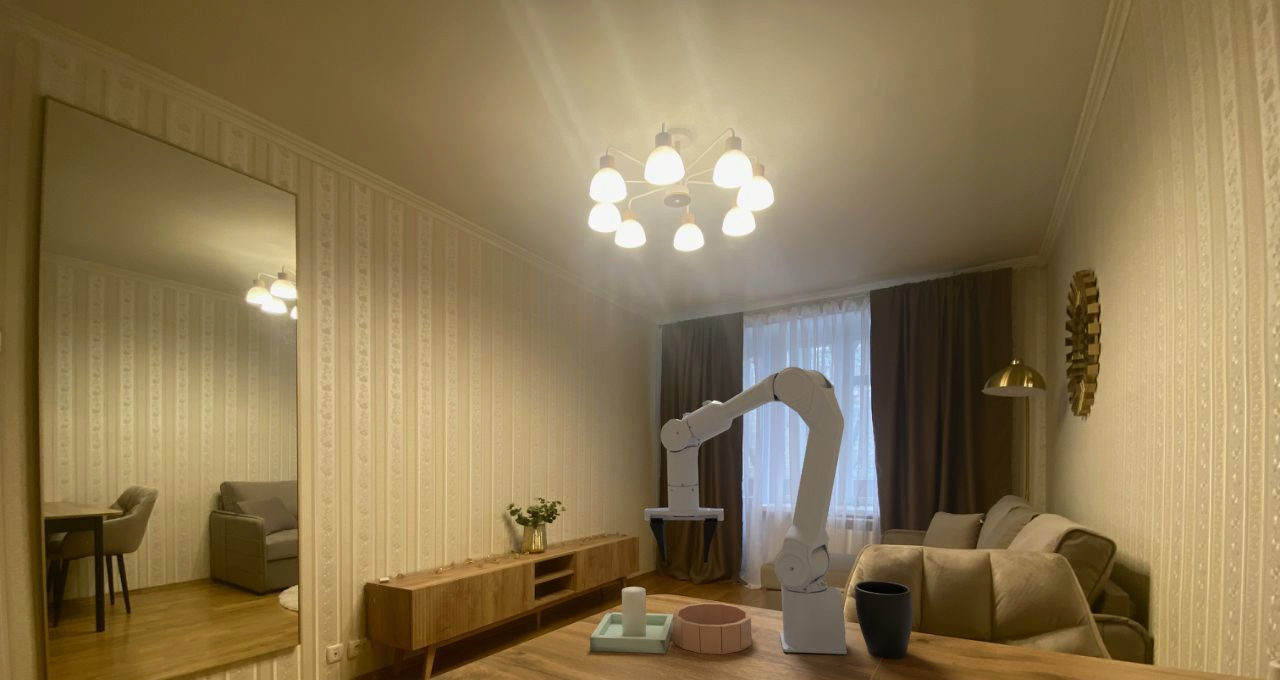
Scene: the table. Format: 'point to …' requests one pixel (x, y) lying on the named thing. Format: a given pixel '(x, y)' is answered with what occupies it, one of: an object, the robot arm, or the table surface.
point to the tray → (613, 640)
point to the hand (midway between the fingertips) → (685, 561)
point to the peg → (634, 611)
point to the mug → (884, 617)
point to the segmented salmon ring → (712, 628)
